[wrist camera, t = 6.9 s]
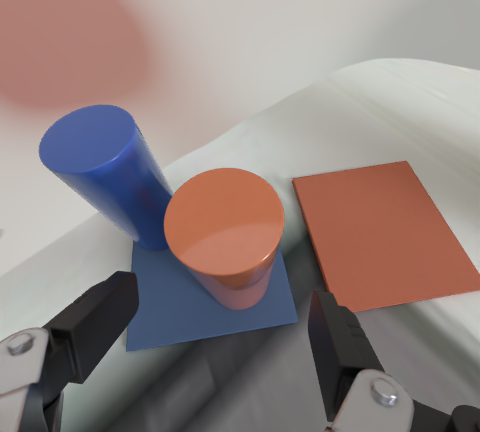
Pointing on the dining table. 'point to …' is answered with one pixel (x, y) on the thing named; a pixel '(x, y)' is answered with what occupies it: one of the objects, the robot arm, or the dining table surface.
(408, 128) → the dining table surface
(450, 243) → the terracotta mat
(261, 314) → the blue mat
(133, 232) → the blue canister
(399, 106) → the dining table surface
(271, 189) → the terracotta canister
